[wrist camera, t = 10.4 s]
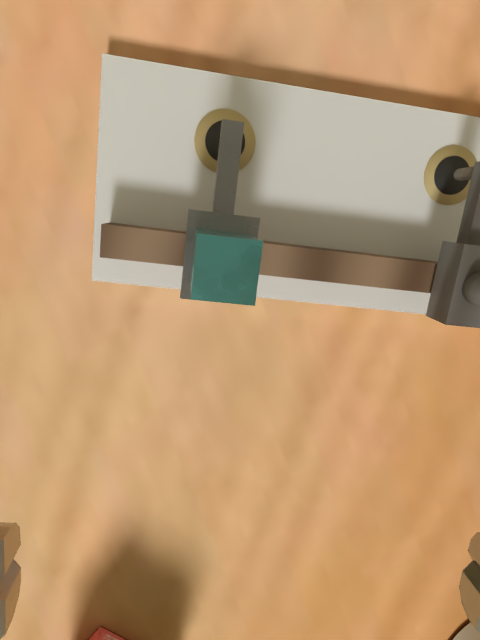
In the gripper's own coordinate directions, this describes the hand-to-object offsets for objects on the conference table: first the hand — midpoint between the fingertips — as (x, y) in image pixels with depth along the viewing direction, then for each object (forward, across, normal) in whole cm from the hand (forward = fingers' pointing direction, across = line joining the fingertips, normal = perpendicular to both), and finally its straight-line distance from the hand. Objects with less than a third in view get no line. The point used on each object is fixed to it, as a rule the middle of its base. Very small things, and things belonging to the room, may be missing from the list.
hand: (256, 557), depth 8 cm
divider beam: (+24, -7, -6) cm, 26 cm away
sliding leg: (+24, 0, -6) cm, 24 cm away
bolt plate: (+26, -7, -7) cm, 28 cm away
